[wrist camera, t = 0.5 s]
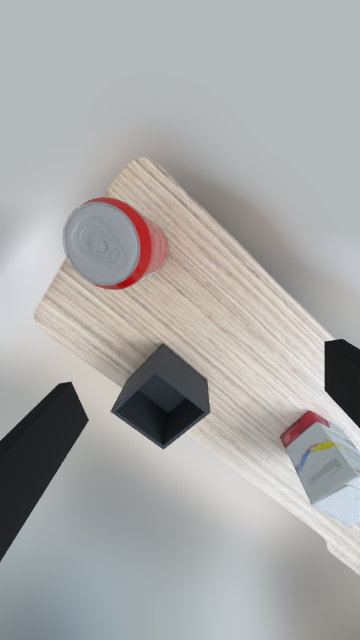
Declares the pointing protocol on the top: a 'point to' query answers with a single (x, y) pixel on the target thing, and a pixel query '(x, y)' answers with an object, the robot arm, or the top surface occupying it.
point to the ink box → (326, 466)
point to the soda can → (113, 244)
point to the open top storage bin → (163, 398)
